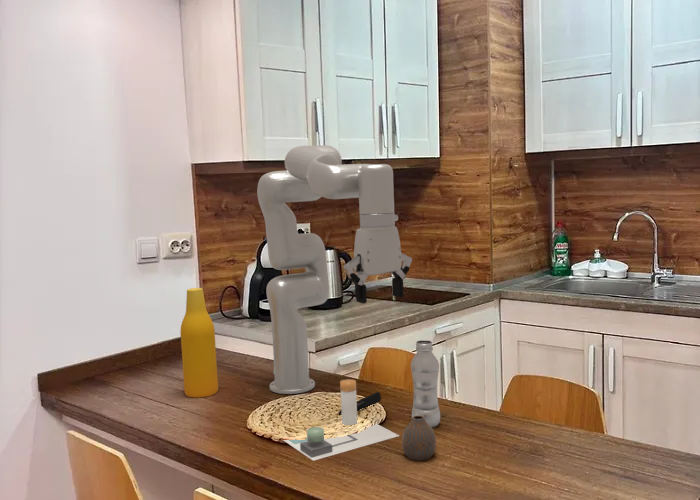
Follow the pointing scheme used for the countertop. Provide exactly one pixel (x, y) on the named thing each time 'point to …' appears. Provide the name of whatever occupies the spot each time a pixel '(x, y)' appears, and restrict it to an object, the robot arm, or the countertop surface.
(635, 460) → the countertop surface
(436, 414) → the plastic bottle
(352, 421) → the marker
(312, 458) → the sheet
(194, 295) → the beer bottle
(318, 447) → the button housing
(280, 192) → the robot arm
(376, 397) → the electric trimmer
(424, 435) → the vase
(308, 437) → the button
